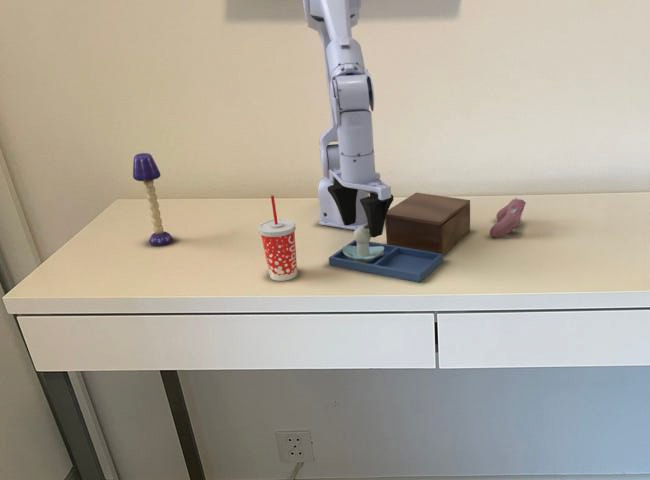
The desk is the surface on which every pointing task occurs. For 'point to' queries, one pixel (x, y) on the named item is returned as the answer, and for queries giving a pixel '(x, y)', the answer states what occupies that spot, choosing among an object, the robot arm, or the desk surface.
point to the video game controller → (508, 218)
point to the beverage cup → (279, 246)
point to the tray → (392, 262)
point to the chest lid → (427, 208)
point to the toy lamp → (151, 195)
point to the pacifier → (363, 247)
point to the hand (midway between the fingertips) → (362, 229)
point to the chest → (428, 232)
